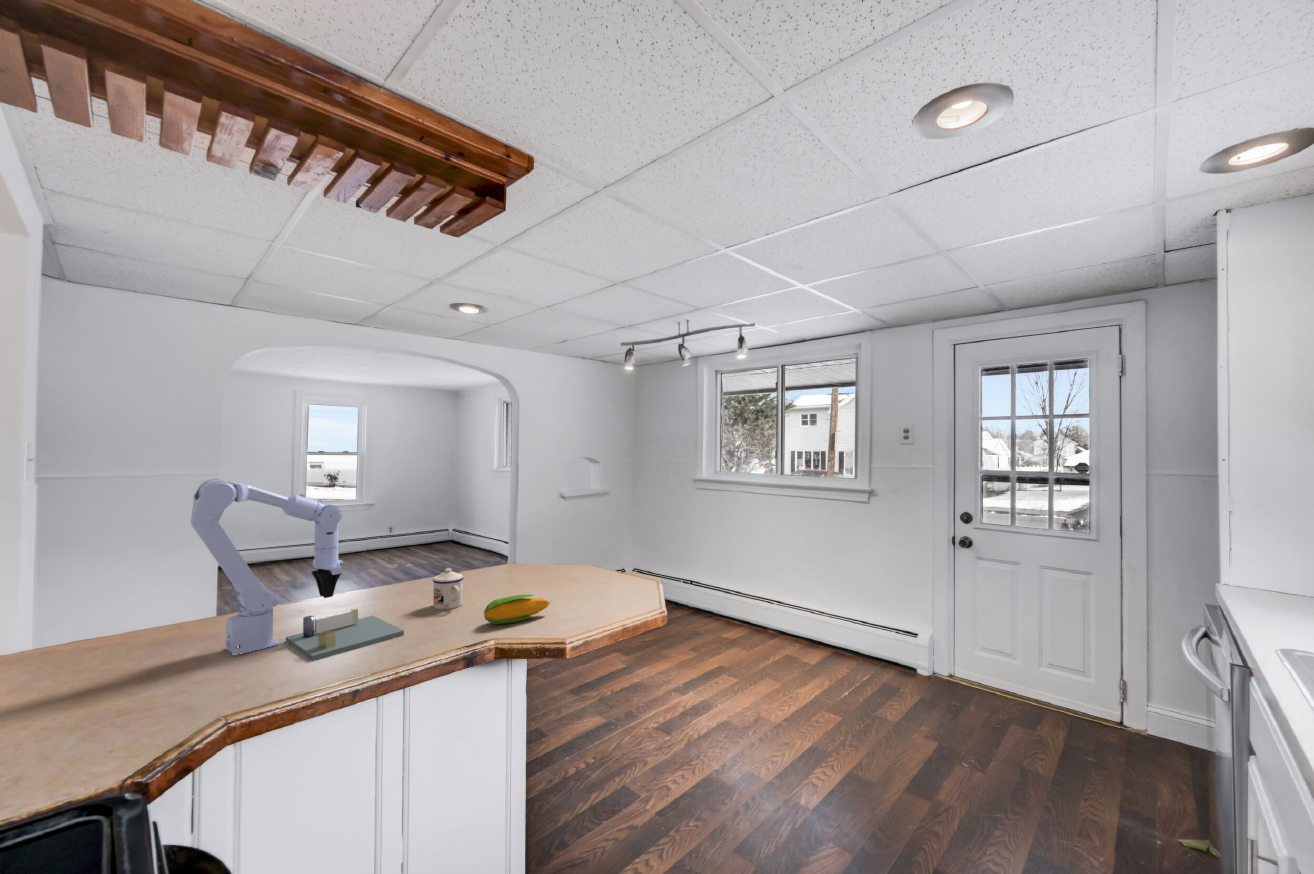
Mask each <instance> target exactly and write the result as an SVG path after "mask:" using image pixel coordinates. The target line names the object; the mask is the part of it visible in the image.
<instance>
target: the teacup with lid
mask: <svg viewBox="0 0 1314 874" xmlns="http://www.w3.org/2000/svg"><path fill="white" fill-rule="evenodd" d="M463 580H464V576H463V574H461V573H457V572H455V571H452V568H445V569H444V572H441V573H440V574H439V575H436V576H434V577H433V579H432V582H433V608H434V609H436V610H451V609H452V610H453V609H456V608H459V607H461V606H462V605H463V603H464V601H463V593H464V592H463V590H464V589H463V583H464V582H463Z"/></svg>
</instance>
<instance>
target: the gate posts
mask: <svg viewBox="0 0 1314 874" xmlns="http://www.w3.org/2000/svg"><path fill="white" fill-rule="evenodd" d="M302 619H303V621H302V628H303V629H302V630H303V631H302V633H303V638H309V637H313V636H314V630H315V615H307V616H304V617H303V618H302ZM333 646H335V632H334V631H331V630H326V631H323V632H320V633H319V635H318V647H321V648H324V649H327V648H330V647H333Z"/></svg>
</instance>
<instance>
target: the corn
mask: <svg viewBox="0 0 1314 874" xmlns="http://www.w3.org/2000/svg"><path fill="white" fill-rule="evenodd" d="M533 595H534V594H517V595H511V596H507V597H502V598H497V599H495V600H492V601H491V602H490V603H489V604H487V605H486V607H485V608H484V611H483V617H484V619H485V620H486V621H487V622H488V623H491V624H493V625H507V624H513V623H517V622H521V621H526V620H528V619H531V618H532V616H534V615H537V614H538V613H540V612H542V611H543V610H545V609H546V608H548V607H549V606H550V604H551V601H549V600H546V599H544V598H542V597H534V596H533Z"/></svg>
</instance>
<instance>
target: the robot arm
mask: <svg viewBox="0 0 1314 874" xmlns="http://www.w3.org/2000/svg"><path fill="white" fill-rule="evenodd" d="M192 501H193V503H192V508H191V509H192V511H191V516H190V525H191V527H192V528H193V530H194V531H195V533H196V534H197V535H198V537H199V538H200V540H201V541H202V542H203V544H204V545H205V546H206V548H207V550H208V551H209V552H210V554H211V555H212V556H213V558H214V559H215V561H216V562H217V564H218V565H219V566H220V567H221V570H222V571H223V573H224V574H225V576H226V577H227V578H228V580H229V581H230V582H231V583H232V586H233V588H234V589H235V591H236V594H237V595H236V596H237V597H236V600H237V601H238V603H239V604H240V605H241V606H240V608H239V610H238V611H237V614H235V615H233V616H229V617H227V619H226V622H225V647H226V648H227V649H228V650H229V651H230V652H231V653H232V654H240V653H245V654H247V653H246V652H249V653H252V652H251V651H253V652H256V651H255V650H257V651H260V649H261V650H264V649H267V647H269V648H272V646H273V647H275V646H276V647H277V646H278V645H280V643H279V642H278V641H277V640H275V639H274V606H273V605H274V603H275V601H276V596H275V593H274V592H273V590H271V589H269V588H267V586H266V585H265V584H263V583H261V581H260V580H259V579H258V578H257V576H256V575H255V574H254V573H253V571H252V570H251V568H250V566H249V565H248V564H247V563H246V561H245V559H244V558H243V556H242V555H241V554H240V552H239V551H238V549H237V548H236V546H235V545H234V543H233V541H232V540H231V539H230V537H229V536H228V535H227V533H226V532H225V530H224V529H223V527H222V526H221V524H220V523H219V522H220V519H222V516H223V514H224V512H225V510H226V509H227V508H229V506H230V505H231V504H232V503H234V502H236V503H241V502H247V501H253V502H257V503H262V504H264V505H269V506H272V507H277V508H280V509H282V510H283V513H284V515H286V516H290V517H294V518H297V519H302V520H305V521H308V522H314V551H313V552H314V555H313V556H314V557H313V558H314V559H313V560H312V567H313V568H314V569H317V570H313V571H311V575H312V576H313V577H314V580H315V583H316V584H317V589H318V593H319V596H320V597H323V598H324V599H327V598H332V597H333V596H334V594H335V589H336V586H337V582H338V580H339V578H340V577H341V575H342V566H341V565H342V564H344V561H343V560H340V559H339V558H340V557H339V550H340V549H339V539H340V538H339V536H340V534H339V531H340V530H339V523H340V522H341V520H342V518H343V514H342V512H341V510H340V508H339V507H338V506H337V505H333V504H331V503H330V504H329V503H327V502H325V500H323V499H319V500H316V499H313V498H310V497H307V494H305V493H299V494H297V493H294V494H291V495H289V496H286V495H281V494H278V493H275V492H272V491H269V490H267V489H263V488H259V487H258V486H254V485H251V484H246V483H240V482H234V481H230V480H229V481H225V480H221V479H218V478H213V479H212V478H211V479H208V480H207V479H206V480H205V481H203V482H202V483H201V484H200V485H199V486H198V488H197V490H196V492H194V494H193V499H192ZM237 645H239V648H237ZM230 652H229V653H230ZM231 653H230V654H231ZM232 654H231V655H232Z"/></svg>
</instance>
